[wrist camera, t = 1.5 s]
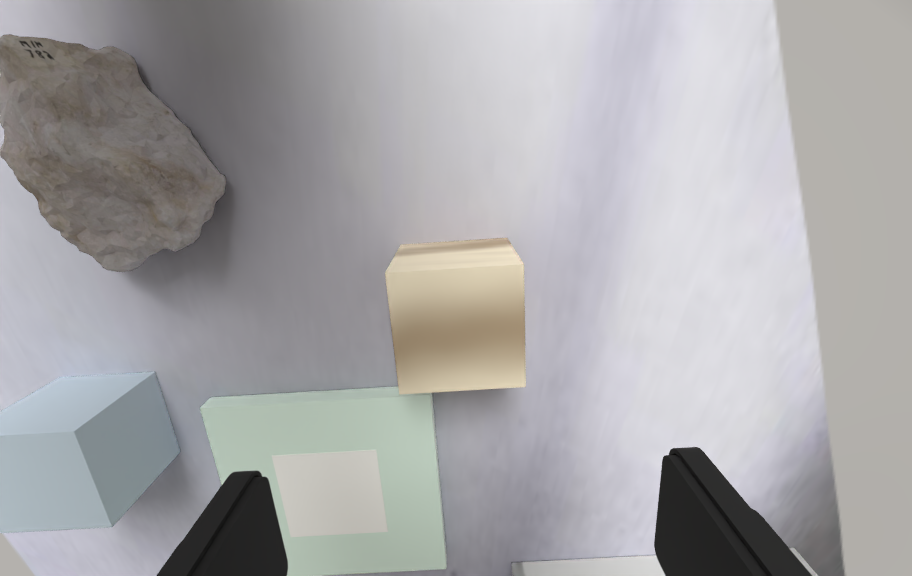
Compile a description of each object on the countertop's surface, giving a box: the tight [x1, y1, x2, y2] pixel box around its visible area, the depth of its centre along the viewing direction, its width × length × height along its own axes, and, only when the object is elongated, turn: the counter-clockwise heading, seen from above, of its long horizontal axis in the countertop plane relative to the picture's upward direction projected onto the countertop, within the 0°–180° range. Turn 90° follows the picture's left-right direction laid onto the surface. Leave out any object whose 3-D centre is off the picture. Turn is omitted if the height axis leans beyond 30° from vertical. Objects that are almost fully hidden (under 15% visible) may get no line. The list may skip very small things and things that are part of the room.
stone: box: [0, 34, 227, 272], centre depth 20 cm, size 8×10×6 cm
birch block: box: [385, 238, 526, 395], centre depth 22 cm, size 6×6×6 cm
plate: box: [200, 386, 447, 576], centre depth 28 cm, size 14×14×1 cm
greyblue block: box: [0, 372, 180, 533], centre depth 24 cm, size 6×6×6 cm
